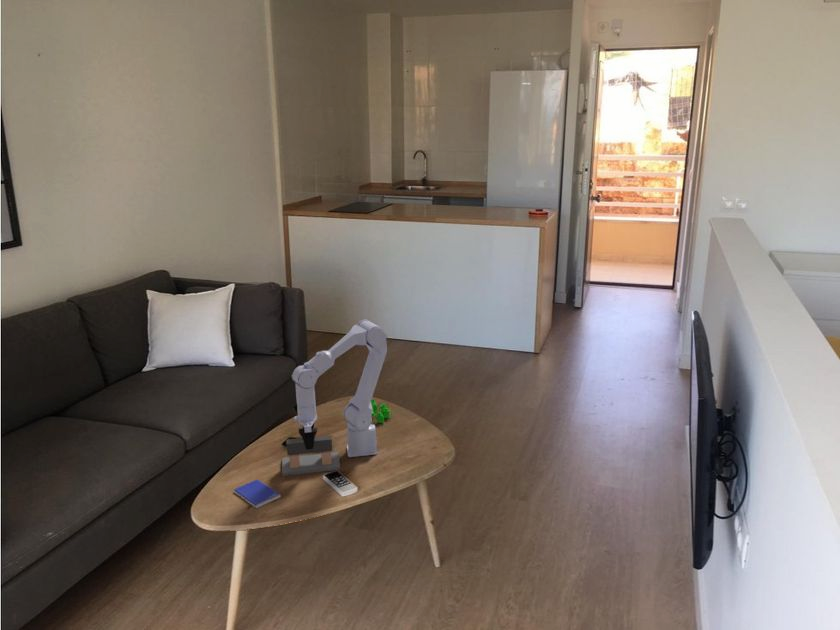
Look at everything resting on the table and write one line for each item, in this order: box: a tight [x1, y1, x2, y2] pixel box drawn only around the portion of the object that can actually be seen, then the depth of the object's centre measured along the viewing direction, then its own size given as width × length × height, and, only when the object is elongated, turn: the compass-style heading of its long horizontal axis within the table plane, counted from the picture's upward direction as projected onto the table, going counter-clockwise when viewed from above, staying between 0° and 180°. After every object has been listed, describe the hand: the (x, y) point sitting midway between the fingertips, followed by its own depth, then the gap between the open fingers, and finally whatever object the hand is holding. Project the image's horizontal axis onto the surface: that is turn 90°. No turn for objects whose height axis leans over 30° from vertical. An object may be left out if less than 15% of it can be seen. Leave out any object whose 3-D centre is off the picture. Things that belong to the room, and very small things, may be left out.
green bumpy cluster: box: [371, 399, 393, 425], centre depth 244 cm, size 15×15×7 cm
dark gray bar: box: [286, 434, 333, 456], centre depth 210 cm, size 14×3×4 cm, turn 100°
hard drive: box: [234, 479, 281, 509], centre depth 196 cm, size 2×8×12 cm
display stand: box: [281, 451, 341, 477], centre depth 211 cm, size 18×10×5 cm, turn 100°
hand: (309, 443), depth 210 cm, fingers open, 7 cm apart
